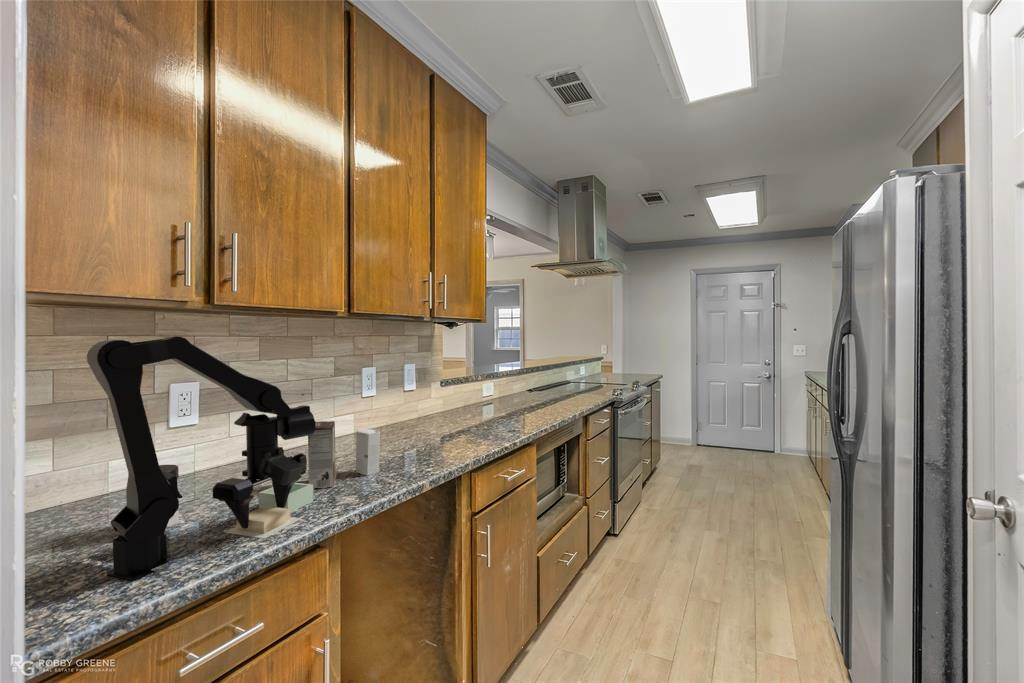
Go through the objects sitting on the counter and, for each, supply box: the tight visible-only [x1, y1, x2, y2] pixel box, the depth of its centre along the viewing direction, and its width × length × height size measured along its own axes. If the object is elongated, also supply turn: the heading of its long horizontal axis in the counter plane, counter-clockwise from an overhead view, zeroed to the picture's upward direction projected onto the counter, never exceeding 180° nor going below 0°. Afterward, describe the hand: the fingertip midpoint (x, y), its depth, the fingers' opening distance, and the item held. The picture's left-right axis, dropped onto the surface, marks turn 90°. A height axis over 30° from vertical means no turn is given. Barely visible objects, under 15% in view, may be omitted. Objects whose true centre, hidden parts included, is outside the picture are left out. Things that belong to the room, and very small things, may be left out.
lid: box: [235, 506, 292, 534], centre depth 96 cm, size 7×7×2 cm
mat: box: [224, 516, 302, 539], centre depth 96 cm, size 10×10×1 cm
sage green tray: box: [258, 482, 314, 513], centre depth 107 cm, size 8×8×4 cm
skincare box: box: [355, 428, 381, 477], centre depth 134 cm, size 6×4×12 cm
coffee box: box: [307, 420, 337, 490], centre depth 124 cm, size 9×6×16 cm
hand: (263, 519), depth 95 cm, fingers open, 9 cm apart
